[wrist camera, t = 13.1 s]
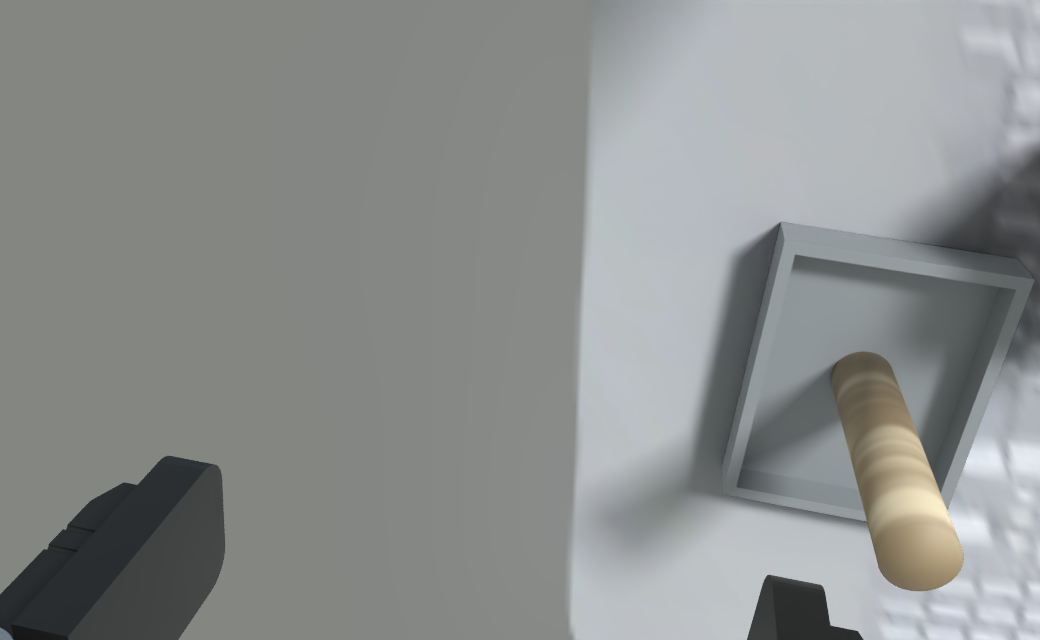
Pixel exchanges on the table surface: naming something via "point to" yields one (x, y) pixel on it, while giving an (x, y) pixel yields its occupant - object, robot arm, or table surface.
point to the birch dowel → (894, 477)
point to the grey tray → (872, 328)
